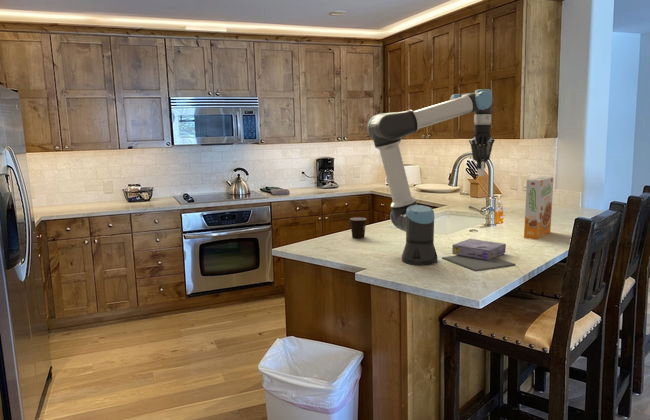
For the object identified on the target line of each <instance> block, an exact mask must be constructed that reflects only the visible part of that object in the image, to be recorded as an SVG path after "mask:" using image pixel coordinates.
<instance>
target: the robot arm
mask: <svg viewBox="0 0 650 420" xmlns="http://www.w3.org/2000/svg"><path fill="white" fill-rule="evenodd" d="M492 108H493V91H492V89H490V88H485V89H484V88H483V89H476V90H475V91H474V92H467V93H454V94H452V95H451V96H450V97H449V100H446V101H443V102H439V103H437V104H433V105H429V106H427V107H423V108H419V109H416V110H412V109H408V110H405V111H404V110H403V111H395V112H391V111H390V112H382V113H378V114H375V115H373V116H371V118H370V119H369V121H368V123H367V126H366V127H367V133H368V135H369V137H370V138H371V139H372V140H373V143H374V144H373V145H374V147H375V148H376V149H377V150H379V153H380V157H381V161H382V165H383V169H384V172H385V176H386V181H387V186H388V189H389V192H390V196H391V199H392V202H391V204H390V205H389V206H390V209H391V211H390V215H389V216H390V221H391V223H392V224H393V226H395V227H396V228H397V229H399V230H401V231H403V232H405V235H406V236H405V238H406V239H405V246H404V248H403V251H402V254H401V262H403V263H405V264H409V265H413V266H430V265H435V264H437V263H438V254H437V250H436V248H435V244H434V241H435V240H434V239H435V237H434V236H435V219H436V218H435V212H434V209H433V208H432V207H430V206H427V205H421V204H418V203H417V200H416V198H415V197H413V196H412V194H411V189H410V186H409V181H408V177H407V174H406V170H405V169H406V168H405V166H404V161H403V157H402V153H401V149H400V143H401V141H402V138H404V137H407V136H410V135H412V134H415V133H417V132H418V130H420V129H422V128H425V127H428V126H432V125H435V124H438V123H442V122H445V121H448V120H451V119H455V118H457V117H460V116H463V115H466V114H471V113H473V114H474V115H473V123H474V125H473V133H474V134H473V138H471V139H469V141H468V143H469V144H470V148H471V154H472V160H473V161H475V162H476V170H477V176H478V177H485V169H486V162H488V161H489V160H490V158H491V155H492V153H491V152H492V150H493V146H494V144H495V143H494V142H495V139H493V138H492V137H491V133H492V124H491V123H492Z"/></svg>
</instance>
